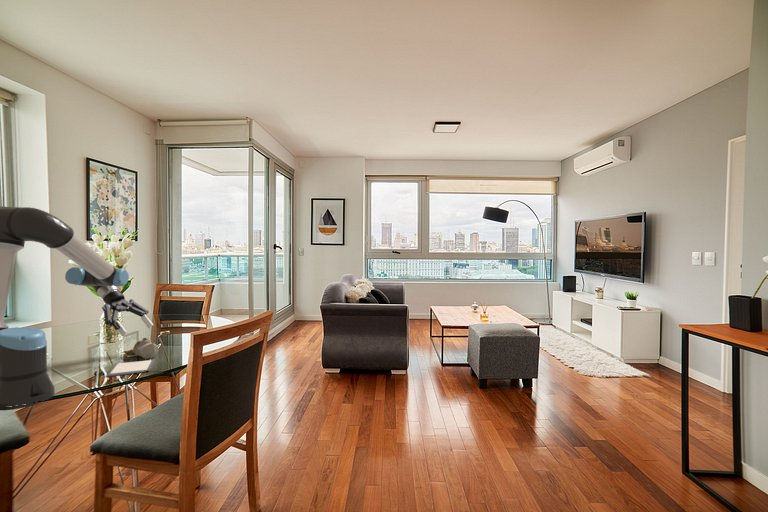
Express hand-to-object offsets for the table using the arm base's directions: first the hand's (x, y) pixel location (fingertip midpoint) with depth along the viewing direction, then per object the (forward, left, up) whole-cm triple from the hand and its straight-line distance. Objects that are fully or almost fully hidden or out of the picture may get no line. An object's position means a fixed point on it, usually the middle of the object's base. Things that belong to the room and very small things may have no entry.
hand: (138, 330), depth 167 cm
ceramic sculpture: (+3, -3, -12) cm, 12 cm away
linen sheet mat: (+1, -19, -11) cm, 22 cm away
